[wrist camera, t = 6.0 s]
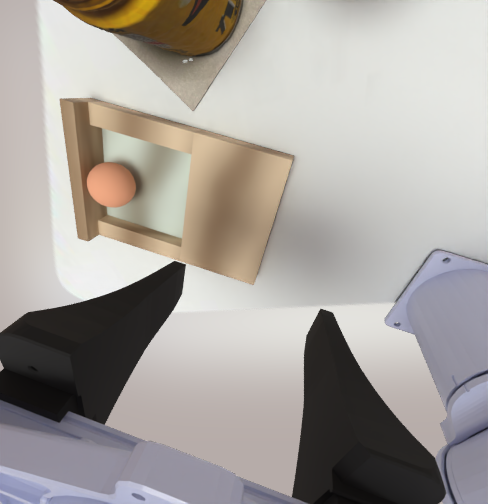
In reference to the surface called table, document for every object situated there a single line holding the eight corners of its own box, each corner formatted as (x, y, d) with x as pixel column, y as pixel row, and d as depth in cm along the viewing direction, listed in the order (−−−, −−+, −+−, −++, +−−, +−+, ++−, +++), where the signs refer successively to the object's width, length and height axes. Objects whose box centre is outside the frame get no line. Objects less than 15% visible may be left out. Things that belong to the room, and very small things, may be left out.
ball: (92, 152, 22) (139, 160, 22) (95, 193, 23) (138, 199, 24) (77, 166, 19) (131, 174, 20) (82, 212, 21) (131, 217, 22)
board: (294, 155, 19) (291, 165, 17) (256, 274, 25) (250, 294, 23) (91, 98, 21) (59, 98, 18) (100, 224, 26) (77, 237, 24)
